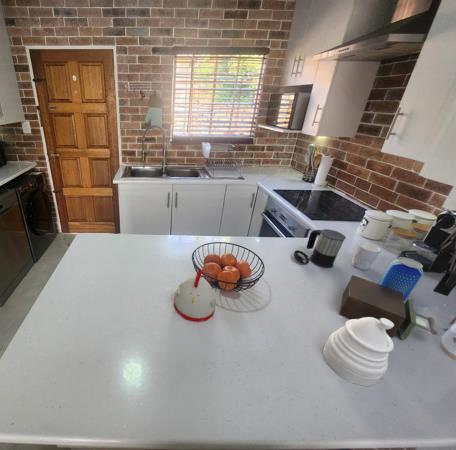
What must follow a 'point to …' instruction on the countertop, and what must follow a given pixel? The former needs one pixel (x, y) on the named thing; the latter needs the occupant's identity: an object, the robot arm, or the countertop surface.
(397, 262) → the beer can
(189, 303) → the white and red dome
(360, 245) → the white cup
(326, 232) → the milk frother
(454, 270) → the robot arm
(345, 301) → the cabinet
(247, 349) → the countertop surface
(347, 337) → the honey pot
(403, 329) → the drawer
